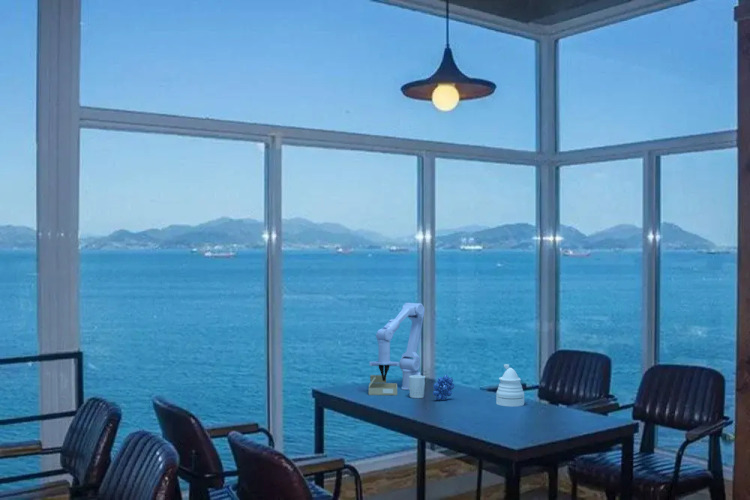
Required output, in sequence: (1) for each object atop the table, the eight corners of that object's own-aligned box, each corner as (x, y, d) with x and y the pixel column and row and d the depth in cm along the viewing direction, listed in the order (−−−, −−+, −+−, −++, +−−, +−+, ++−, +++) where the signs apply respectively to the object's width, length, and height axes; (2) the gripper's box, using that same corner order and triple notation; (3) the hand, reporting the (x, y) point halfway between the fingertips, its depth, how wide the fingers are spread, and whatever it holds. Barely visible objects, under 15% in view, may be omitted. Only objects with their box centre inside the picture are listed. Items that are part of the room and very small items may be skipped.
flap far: (369, 384, 386) (375, 376, 386) (369, 387, 378) (375, 378, 378) (369, 384, 386) (375, 375, 386) (368, 386, 378) (374, 378, 378)
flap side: (386, 382, 391) (386, 375, 388) (386, 382, 391) (386, 375, 388) (370, 382, 391) (370, 375, 389) (370, 382, 391) (370, 375, 388)
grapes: (449, 397, 372) (449, 373, 372) (456, 400, 365) (456, 375, 366) (428, 399, 366) (428, 374, 366) (435, 402, 360) (436, 376, 360)
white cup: (425, 395, 377) (425, 375, 377) (424, 398, 369) (424, 377, 369) (409, 395, 377) (409, 375, 377) (408, 398, 370) (408, 377, 370)
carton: (396, 390, 391) (396, 383, 391) (397, 395, 377) (397, 388, 377) (369, 389, 392) (369, 383, 392) (368, 395, 377) (368, 387, 378)
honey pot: (492, 404, 355) (492, 365, 356) (501, 400, 367) (501, 362, 367) (519, 407, 349) (519, 367, 350) (527, 402, 361) (527, 364, 361)
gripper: (369, 354, 378) (369, 381, 378) (398, 354, 378) (398, 382, 378) (369, 352, 385) (369, 379, 385) (398, 352, 385) (398, 379, 385)
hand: (384, 380), depth 382 cm, fingers closed
